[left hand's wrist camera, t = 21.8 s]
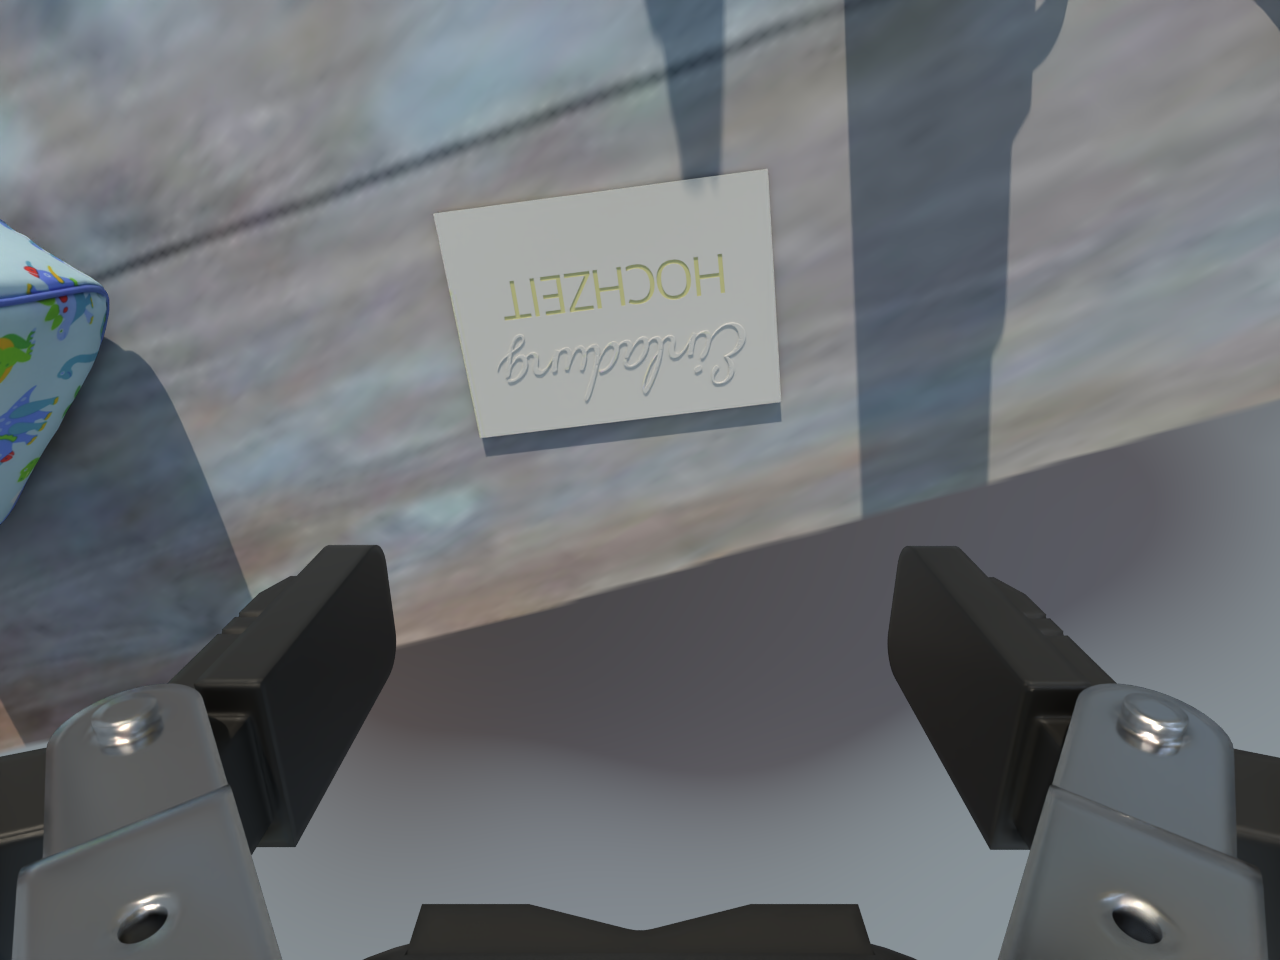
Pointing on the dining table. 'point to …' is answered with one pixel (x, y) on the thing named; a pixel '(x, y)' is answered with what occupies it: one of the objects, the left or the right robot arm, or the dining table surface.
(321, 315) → the dining table surface
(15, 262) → the lunch box
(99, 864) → the left robot arm
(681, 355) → the invitation card
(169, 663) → the dining table surface
